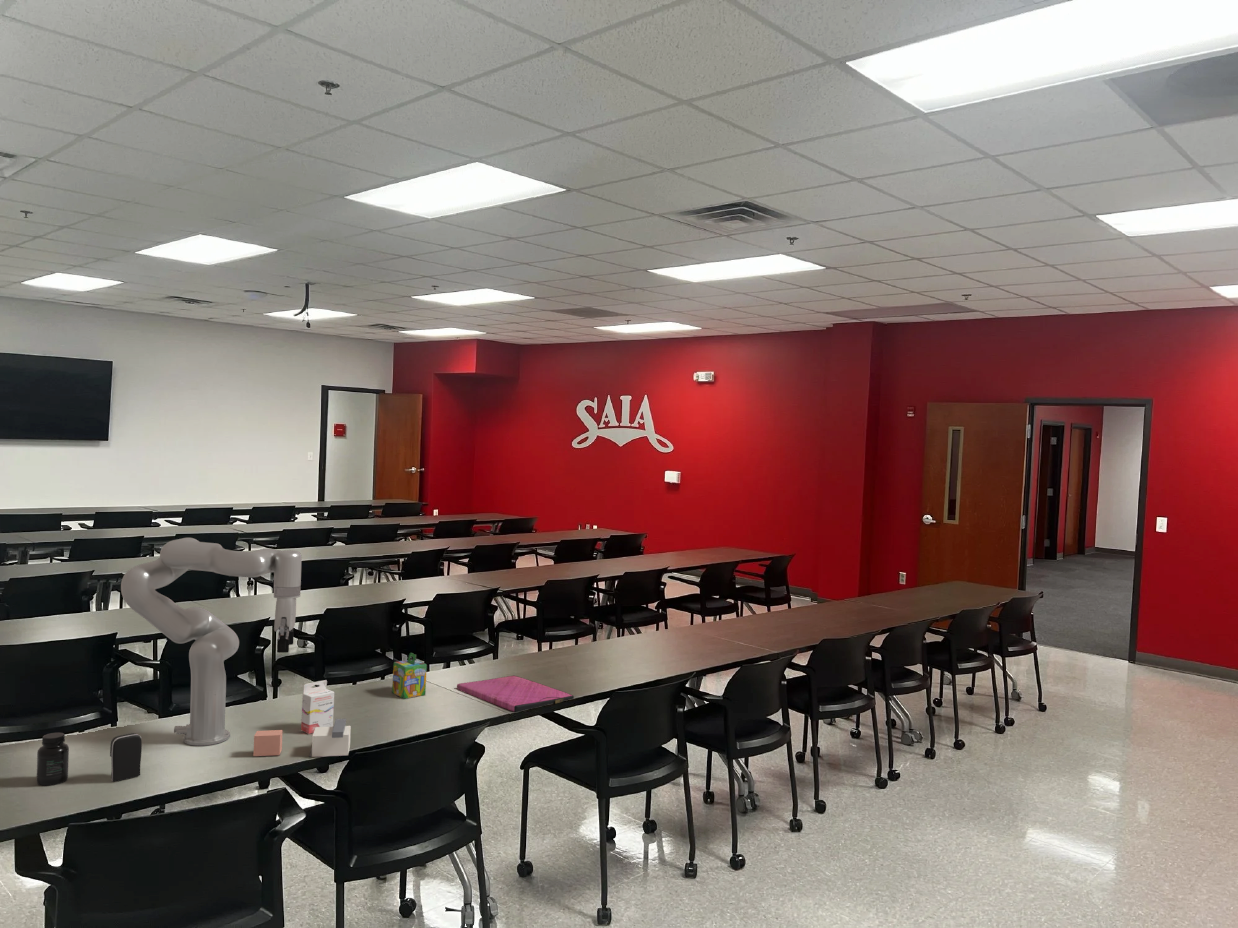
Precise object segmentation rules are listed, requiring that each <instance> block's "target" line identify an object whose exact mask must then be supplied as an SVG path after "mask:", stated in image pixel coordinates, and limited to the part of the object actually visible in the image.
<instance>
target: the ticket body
mask: <svg viewBox="0 0 1238 928" xmlns="http://www.w3.org/2000/svg"><path fill="white" fill-rule="evenodd" d="M351 727H352V726H351V725H347V718H335V719H334V723H333V726H332V727H315V730H314V733H312V738H311V739H312V742H311V744H312V746H311V750H310V753H309V758H311V757H312V758H318V757H339V756H340V757H341V756H349V753H350V747H351V730H352V729H351Z"/></svg>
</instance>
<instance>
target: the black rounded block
mask: <svg viewBox="0 0 1238 928" xmlns="http://www.w3.org/2000/svg"><path fill="white" fill-rule="evenodd" d="M142 743H143V740H142V736H141V735H140V734H138V733H135V732H131V733H125V734H121V735H117V736H115V737H113V738H112V739H111V741H110V747H109V750H110V751H109V757H110V759H111V772H110V773H111V774H110V778H111V781H112V782H119V781H125V780H130V779H133V778H137V777H141V763H142V761H141V760H142V750H143V749H142V746H143V745H142Z"/></svg>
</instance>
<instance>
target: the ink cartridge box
mask: <svg viewBox="0 0 1238 928" xmlns="http://www.w3.org/2000/svg"><path fill="white" fill-rule="evenodd" d="M327 684H328V681H327V679H325V680H318V681H313V682H309V683H304V685H303V693H302V698H301V699H302V701H301V703H302V704H301V719H300V721H301V722H300V723H301V726H300V731H301V732H303V733H306V734H308V735H310V734H313V733H314V730H315V727H332V726H334V711H335V710H334V709H335V691H333V690H330V689H328V688H327ZM315 686H316V687H315Z"/></svg>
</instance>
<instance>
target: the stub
mask: <svg viewBox="0 0 1238 928" xmlns="http://www.w3.org/2000/svg"><path fill="white" fill-rule="evenodd" d="M282 750H283V729H276V730H275V729H273V730H271V729H270V730H256V732H255V734H254V735H253V757H264V756H265V757H268V756H280V754H281V752H282Z"/></svg>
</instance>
